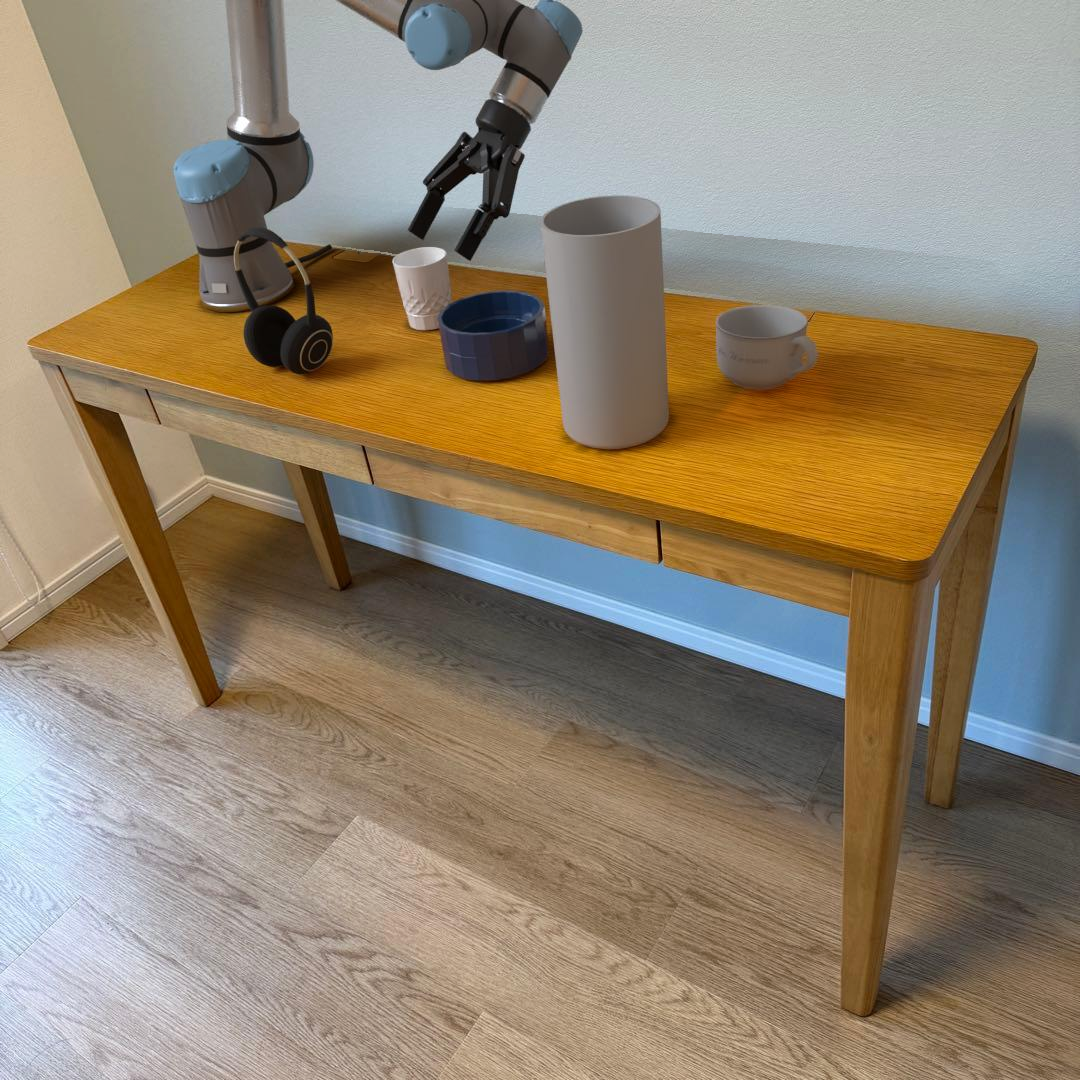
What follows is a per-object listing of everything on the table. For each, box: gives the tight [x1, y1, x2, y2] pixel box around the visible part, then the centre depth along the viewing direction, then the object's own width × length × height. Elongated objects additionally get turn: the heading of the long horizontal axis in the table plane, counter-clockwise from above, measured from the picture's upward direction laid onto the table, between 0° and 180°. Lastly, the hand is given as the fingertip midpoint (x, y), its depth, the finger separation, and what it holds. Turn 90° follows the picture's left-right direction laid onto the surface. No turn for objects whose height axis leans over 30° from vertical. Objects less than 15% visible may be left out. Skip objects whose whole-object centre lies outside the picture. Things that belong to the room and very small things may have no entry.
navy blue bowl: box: [437, 289, 550, 382], centre depth 135 cm, size 14×14×7 cm
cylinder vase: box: [539, 194, 670, 450], centre depth 111 cm, size 12×12×25 cm
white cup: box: [391, 246, 453, 331], centre depth 147 cm, size 8×8×10 cm
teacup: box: [715, 304, 819, 391], centre depth 120 cm, size 14×11×8 cm
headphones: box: [234, 228, 334, 376], centre depth 136 cm, size 9×15×20 cm, turn 54°
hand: (437, 245), depth 145 cm, fingers open, 13 cm apart
